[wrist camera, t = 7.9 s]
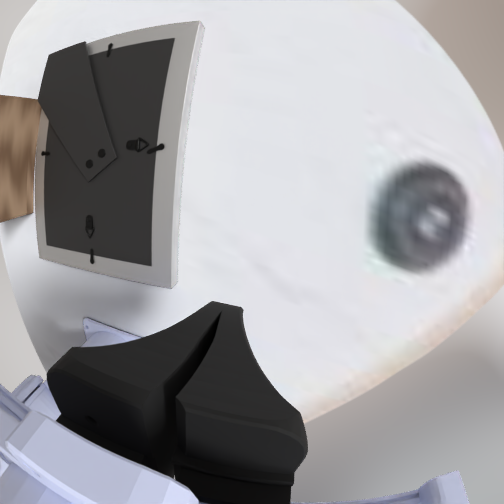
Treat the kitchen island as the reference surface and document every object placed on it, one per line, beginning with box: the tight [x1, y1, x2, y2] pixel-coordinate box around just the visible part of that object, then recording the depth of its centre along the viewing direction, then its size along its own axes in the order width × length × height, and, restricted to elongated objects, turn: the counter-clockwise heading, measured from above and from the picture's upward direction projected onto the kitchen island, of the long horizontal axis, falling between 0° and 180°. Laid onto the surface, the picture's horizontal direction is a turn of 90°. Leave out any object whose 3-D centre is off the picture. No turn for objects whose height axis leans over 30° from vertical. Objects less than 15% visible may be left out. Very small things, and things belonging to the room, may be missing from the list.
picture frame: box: [35, 21, 205, 289], centre depth 18 cm, size 16×3×21 cm
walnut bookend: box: [0, 95, 42, 223], centre depth 16 cm, size 12×3×7 cm, turn 171°
